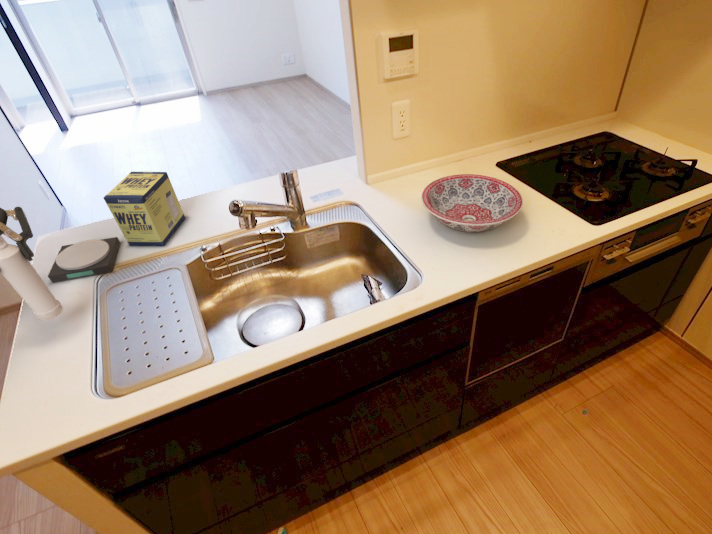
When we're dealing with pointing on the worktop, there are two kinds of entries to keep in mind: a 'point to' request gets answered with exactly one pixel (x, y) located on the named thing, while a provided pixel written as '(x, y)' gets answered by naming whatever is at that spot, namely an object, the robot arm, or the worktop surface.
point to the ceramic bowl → (471, 201)
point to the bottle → (27, 282)
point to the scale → (85, 259)
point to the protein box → (145, 208)
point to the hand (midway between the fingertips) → (13, 265)
